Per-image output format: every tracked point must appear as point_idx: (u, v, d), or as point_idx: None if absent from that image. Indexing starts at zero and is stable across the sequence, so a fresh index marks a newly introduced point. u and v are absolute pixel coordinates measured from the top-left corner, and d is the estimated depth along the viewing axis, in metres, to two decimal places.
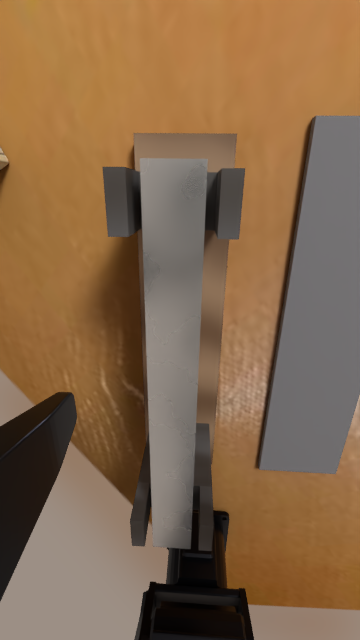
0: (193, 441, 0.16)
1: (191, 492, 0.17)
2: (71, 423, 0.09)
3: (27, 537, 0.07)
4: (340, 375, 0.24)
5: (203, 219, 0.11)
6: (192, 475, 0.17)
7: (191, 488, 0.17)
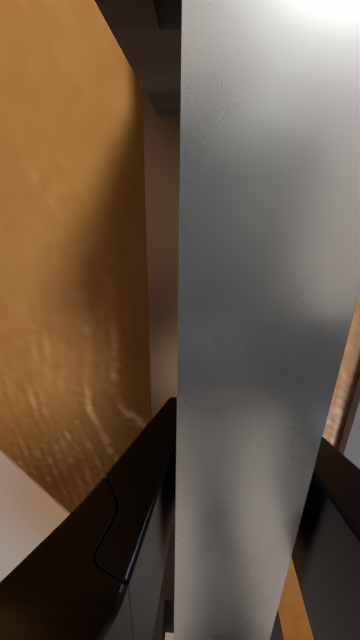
0: (279, 584, 0.07)
1: None
2: None
3: (167, 547, 0.07)
4: None
5: None
6: None
7: None
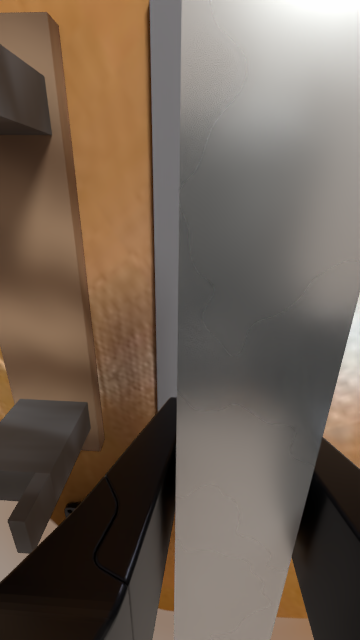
0: (280, 583, 0.07)
1: None
2: None
3: None
4: None
5: None
6: None
7: None
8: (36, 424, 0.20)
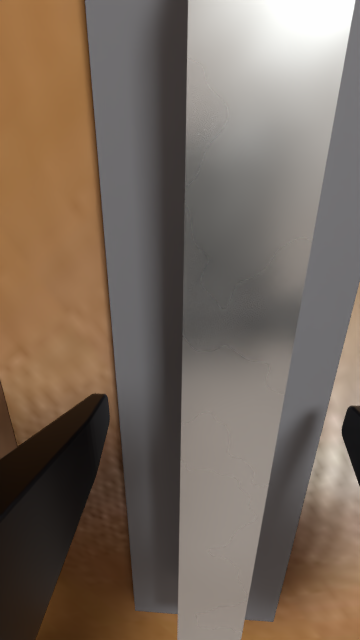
0: (262, 498, 0.08)
1: (248, 579, 0.10)
2: (105, 425, 0.09)
3: (70, 541, 0.07)
4: None
5: None
6: (253, 553, 0.09)
7: (249, 573, 0.10)
8: None
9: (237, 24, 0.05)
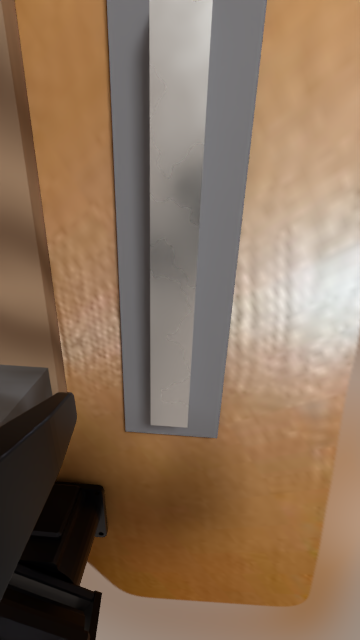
0: (193, 296, 0.16)
1: (189, 358, 0.18)
2: (71, 423, 0.09)
3: (27, 538, 0.07)
4: (201, 304, 0.19)
5: (209, 26, 0.12)
6: (191, 337, 0.17)
7: (190, 353, 0.17)
8: None
9: (168, 52, 0.12)
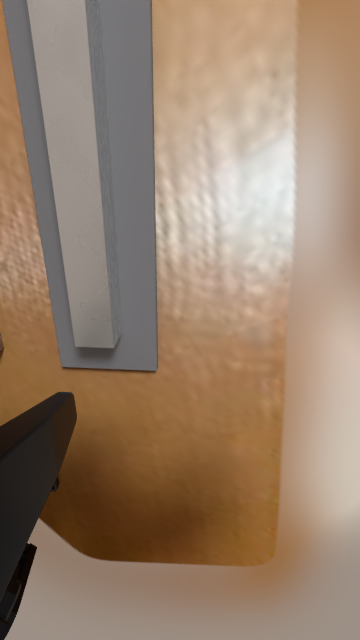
0: (98, 187, 0.15)
1: (105, 264, 0.17)
2: (71, 423, 0.09)
3: (27, 537, 0.07)
4: (122, 212, 0.18)
5: None
6: (103, 238, 0.16)
7: (104, 258, 0.16)
8: None
9: None
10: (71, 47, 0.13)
